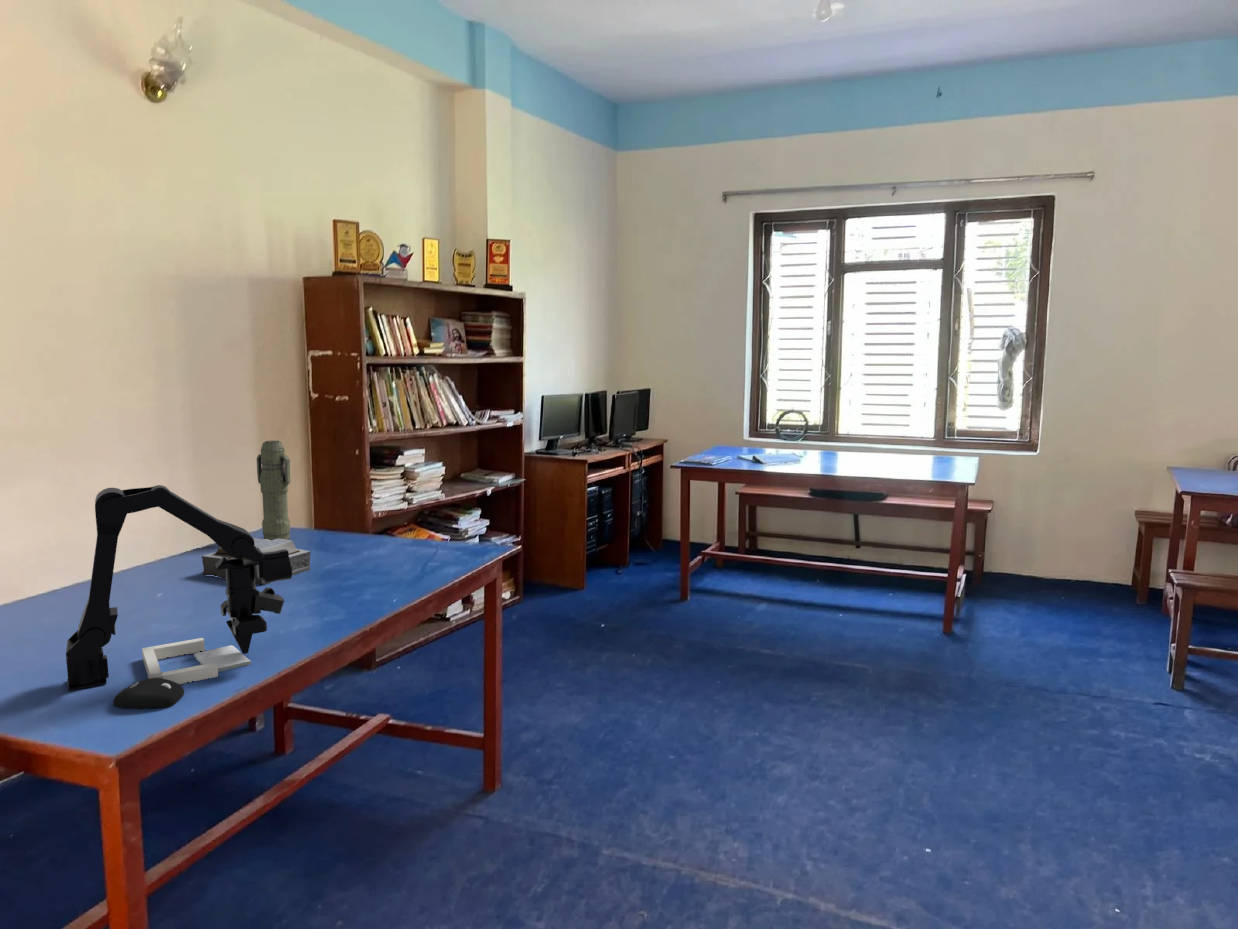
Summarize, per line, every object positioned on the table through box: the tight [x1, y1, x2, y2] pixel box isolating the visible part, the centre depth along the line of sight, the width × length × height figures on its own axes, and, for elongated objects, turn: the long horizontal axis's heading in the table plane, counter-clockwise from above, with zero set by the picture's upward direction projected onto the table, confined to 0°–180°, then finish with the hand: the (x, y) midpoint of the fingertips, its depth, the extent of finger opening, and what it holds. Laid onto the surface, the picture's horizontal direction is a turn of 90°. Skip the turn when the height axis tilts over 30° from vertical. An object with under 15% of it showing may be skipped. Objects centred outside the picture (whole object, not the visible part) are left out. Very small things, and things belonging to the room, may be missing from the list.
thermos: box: [256, 440, 291, 540], centre depth 282 cm, size 9×12×35 cm
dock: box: [141, 637, 219, 685], centre depth 172 cm, size 12×19×2 cm, turn 35°
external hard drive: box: [193, 644, 252, 673], centre depth 177 cm, size 2×8×12 cm
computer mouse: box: [112, 678, 185, 710], centre depth 156 cm, size 8×12×4 cm, turn 95°
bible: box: [201, 537, 311, 586], centre depth 243 cm, size 23×27×10 cm
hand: (245, 653), depth 180 cm, fingers closed
